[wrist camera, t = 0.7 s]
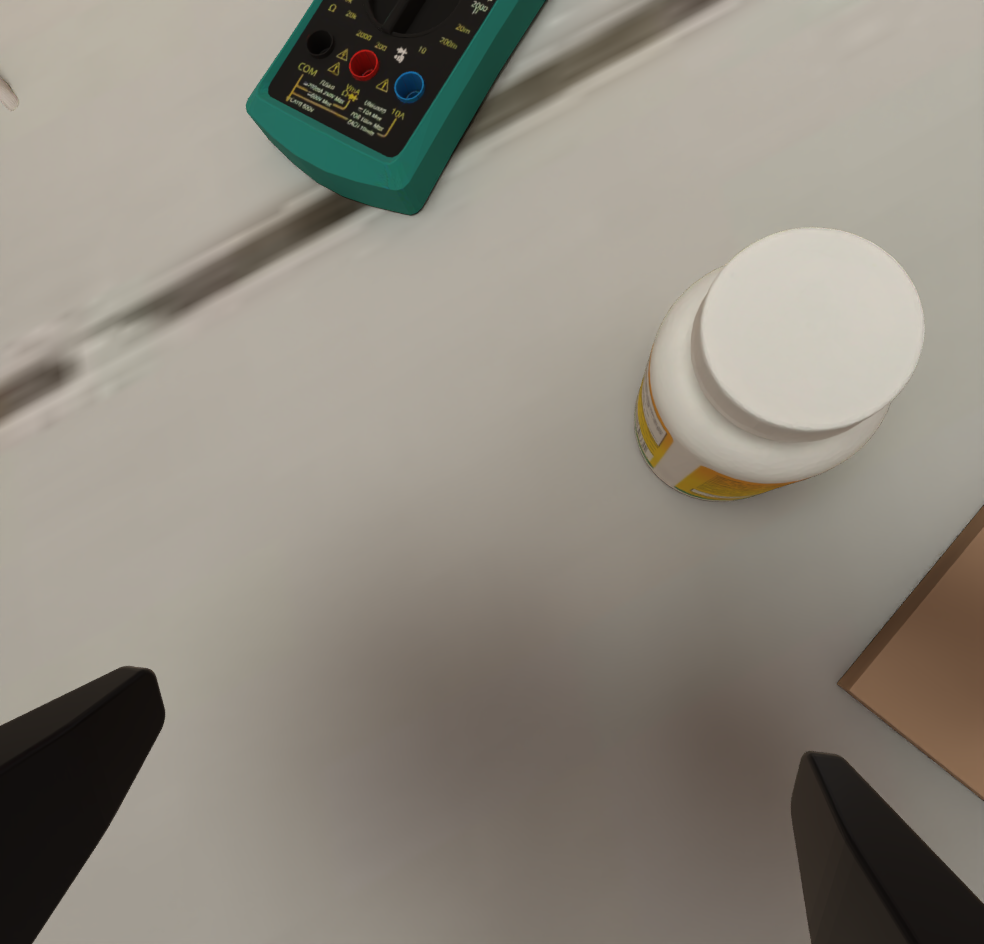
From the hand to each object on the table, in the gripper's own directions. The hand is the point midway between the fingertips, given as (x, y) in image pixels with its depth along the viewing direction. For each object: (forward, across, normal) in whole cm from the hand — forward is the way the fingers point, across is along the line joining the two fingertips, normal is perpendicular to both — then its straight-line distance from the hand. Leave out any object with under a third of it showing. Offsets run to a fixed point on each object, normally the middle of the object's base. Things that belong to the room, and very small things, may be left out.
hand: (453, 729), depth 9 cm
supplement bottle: (+15, -5, +1) cm, 16 cm away
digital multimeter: (+23, +6, -12) cm, 27 cm away
